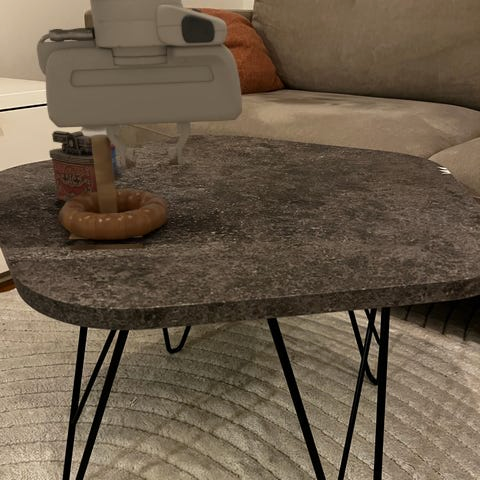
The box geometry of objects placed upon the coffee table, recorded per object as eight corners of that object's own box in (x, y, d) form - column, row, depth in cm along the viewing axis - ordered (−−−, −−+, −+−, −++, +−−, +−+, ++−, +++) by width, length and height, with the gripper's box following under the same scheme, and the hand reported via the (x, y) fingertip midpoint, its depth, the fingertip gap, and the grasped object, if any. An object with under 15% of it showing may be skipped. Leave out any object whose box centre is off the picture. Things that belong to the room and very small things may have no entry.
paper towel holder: (70, 250, 65) (54, 144, 60) (82, 226, 72) (69, 129, 67) (143, 248, 66) (134, 143, 60) (148, 224, 73) (140, 128, 67)
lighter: (115, 211, 77) (106, 133, 73) (97, 218, 75) (87, 137, 70) (70, 202, 81) (59, 126, 76) (51, 209, 78) (39, 131, 74)
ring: (51, 244, 63) (47, 219, 62) (73, 209, 73) (70, 187, 72) (164, 242, 63) (162, 217, 62) (170, 207, 74) (169, 185, 73)
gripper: (24, 31, 56) (51, 176, 62) (241, 23, 56) (245, 168, 63) (40, 28, 61) (63, 162, 68) (237, 21, 62) (241, 154, 69)
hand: (152, 165), depth 65 cm, fingers open, 4 cm apart
